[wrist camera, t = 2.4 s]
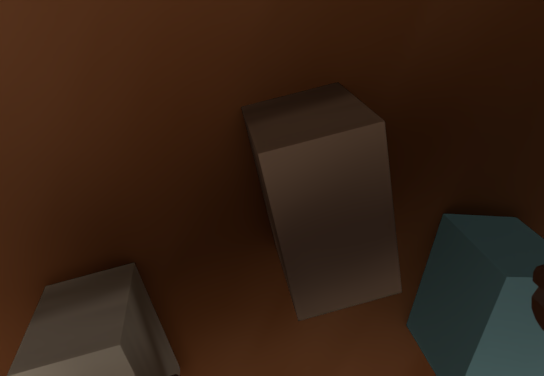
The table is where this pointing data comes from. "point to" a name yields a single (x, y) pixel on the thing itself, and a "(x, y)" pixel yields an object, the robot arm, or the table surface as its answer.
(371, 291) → the walnut block
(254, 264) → the table surface
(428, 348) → the teal block
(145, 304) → the maple block
